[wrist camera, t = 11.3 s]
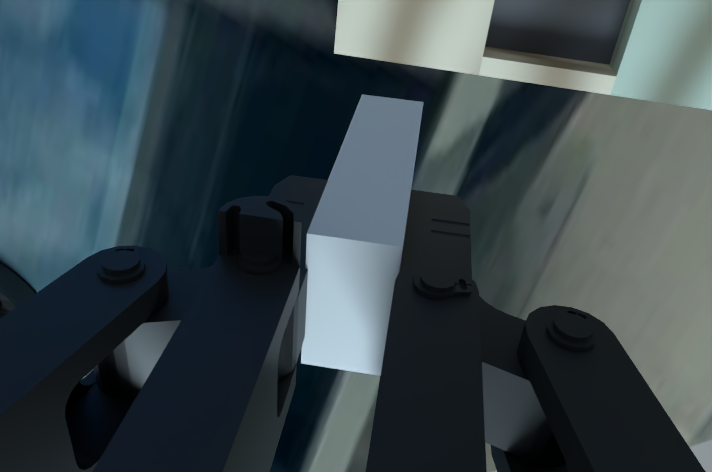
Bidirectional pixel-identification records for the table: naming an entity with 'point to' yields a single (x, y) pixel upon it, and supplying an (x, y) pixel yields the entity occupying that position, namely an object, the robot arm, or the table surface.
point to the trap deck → (545, 42)
